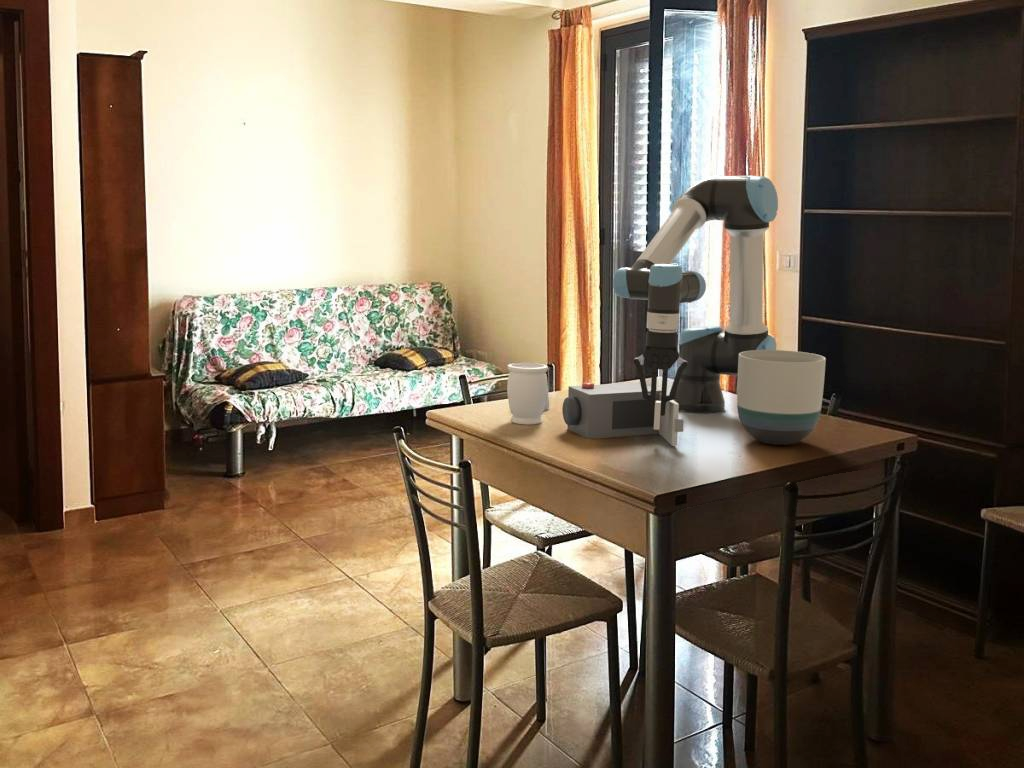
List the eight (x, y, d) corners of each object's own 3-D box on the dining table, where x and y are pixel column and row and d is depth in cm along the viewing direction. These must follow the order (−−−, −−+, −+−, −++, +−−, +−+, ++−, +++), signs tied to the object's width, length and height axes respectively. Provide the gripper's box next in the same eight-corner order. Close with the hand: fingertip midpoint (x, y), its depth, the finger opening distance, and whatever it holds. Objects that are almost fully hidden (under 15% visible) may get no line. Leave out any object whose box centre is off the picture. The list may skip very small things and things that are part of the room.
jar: (498, 421, 281) (499, 364, 278) (524, 416, 288) (526, 360, 285) (528, 428, 273) (529, 369, 271) (554, 422, 281) (556, 365, 278)
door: (657, 432, 269) (659, 392, 267) (667, 431, 269) (668, 392, 268) (672, 446, 254) (674, 404, 252) (682, 446, 254) (684, 404, 252)
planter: (717, 436, 268) (722, 351, 264) (786, 431, 275) (791, 348, 271) (765, 455, 249) (771, 364, 245) (837, 449, 257) (843, 360, 253)
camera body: (636, 424, 281) (638, 378, 279) (660, 433, 269) (662, 386, 267) (560, 429, 272) (561, 382, 270) (580, 439, 261) (582, 391, 259)
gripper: (634, 330, 250) (628, 430, 254) (690, 333, 248) (683, 433, 252) (635, 327, 257) (630, 423, 261) (689, 329, 255) (683, 427, 259)
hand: (656, 428), depth 256 cm, fingers closed
